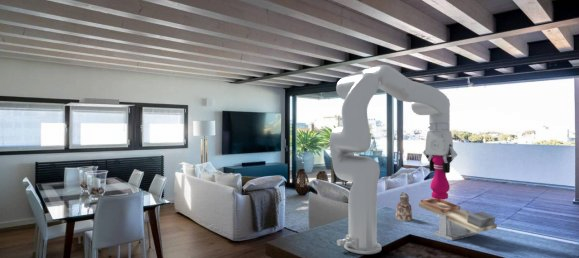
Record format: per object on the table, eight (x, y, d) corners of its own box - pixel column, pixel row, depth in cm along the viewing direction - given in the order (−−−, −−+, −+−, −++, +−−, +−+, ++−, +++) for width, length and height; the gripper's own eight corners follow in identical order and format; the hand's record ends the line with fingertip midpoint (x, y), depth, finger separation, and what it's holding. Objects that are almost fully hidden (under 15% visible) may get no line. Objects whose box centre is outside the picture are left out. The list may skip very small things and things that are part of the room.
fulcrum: (451, 240, 122) (451, 217, 122) (433, 234, 129) (433, 212, 129) (477, 234, 129) (477, 212, 129) (458, 229, 136) (458, 208, 136)
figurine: (396, 220, 149) (396, 193, 150) (395, 216, 156) (395, 191, 156) (413, 221, 148) (413, 194, 148) (411, 217, 155) (410, 191, 155)
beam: (476, 232, 115) (478, 220, 115) (418, 206, 137) (420, 195, 137) (496, 228, 121) (498, 216, 120) (438, 203, 143) (439, 193, 142)
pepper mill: (445, 195, 140) (446, 148, 139) (452, 199, 133) (453, 150, 132) (427, 195, 140) (428, 148, 139) (433, 199, 133) (434, 150, 132)
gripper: (416, 127, 141) (416, 170, 141) (452, 127, 126) (452, 174, 126) (428, 128, 145) (428, 169, 145) (464, 127, 130) (464, 173, 130)
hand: (439, 171), depth 135 cm, fingers closed on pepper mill, 5 cm apart
